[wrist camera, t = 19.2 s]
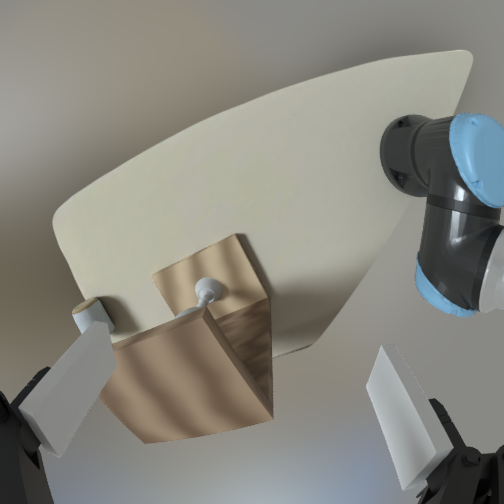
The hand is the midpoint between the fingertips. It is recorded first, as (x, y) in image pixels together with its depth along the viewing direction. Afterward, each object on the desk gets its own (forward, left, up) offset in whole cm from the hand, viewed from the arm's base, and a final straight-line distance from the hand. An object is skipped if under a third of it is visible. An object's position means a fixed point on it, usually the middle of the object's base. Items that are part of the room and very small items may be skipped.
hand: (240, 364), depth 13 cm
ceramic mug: (+35, +24, -39) cm, 57 cm away
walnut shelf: (+8, +14, -39) cm, 42 cm away
